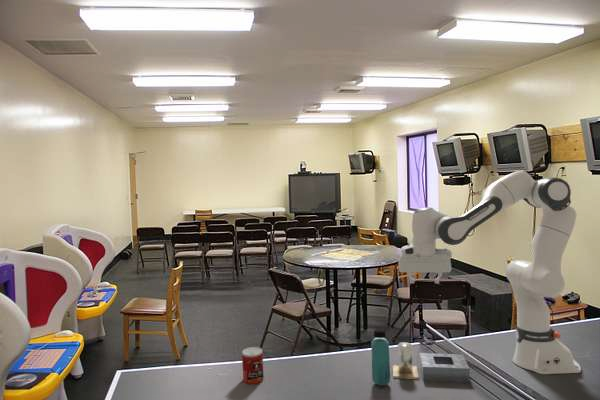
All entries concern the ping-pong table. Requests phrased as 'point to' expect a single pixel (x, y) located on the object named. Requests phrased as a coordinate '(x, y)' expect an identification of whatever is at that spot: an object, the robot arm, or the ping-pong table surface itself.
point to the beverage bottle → (380, 358)
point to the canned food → (252, 365)
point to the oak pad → (405, 376)
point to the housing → (444, 367)
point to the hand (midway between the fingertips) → (424, 283)
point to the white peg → (405, 358)
